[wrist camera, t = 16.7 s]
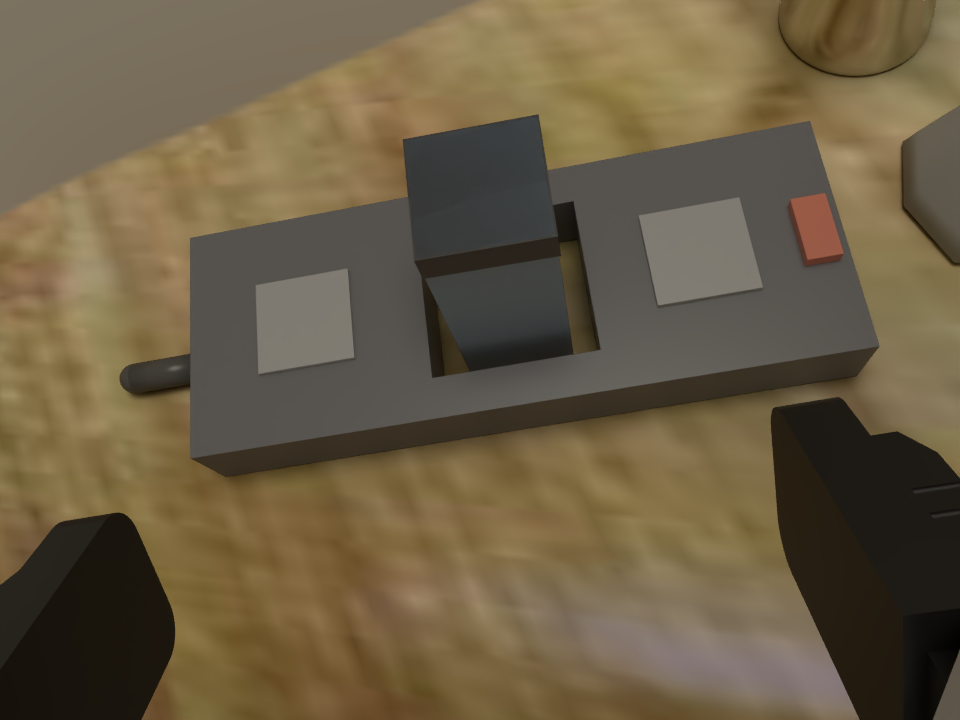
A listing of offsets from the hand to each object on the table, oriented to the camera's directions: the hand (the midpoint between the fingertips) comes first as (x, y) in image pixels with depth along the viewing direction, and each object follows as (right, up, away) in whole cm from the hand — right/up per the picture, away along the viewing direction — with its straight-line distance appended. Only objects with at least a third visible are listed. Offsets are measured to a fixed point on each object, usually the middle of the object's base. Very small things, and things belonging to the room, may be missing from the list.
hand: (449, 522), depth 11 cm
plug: (+2, +4, +24) cm, 24 cm away
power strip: (0, +3, +24) cm, 24 cm away
